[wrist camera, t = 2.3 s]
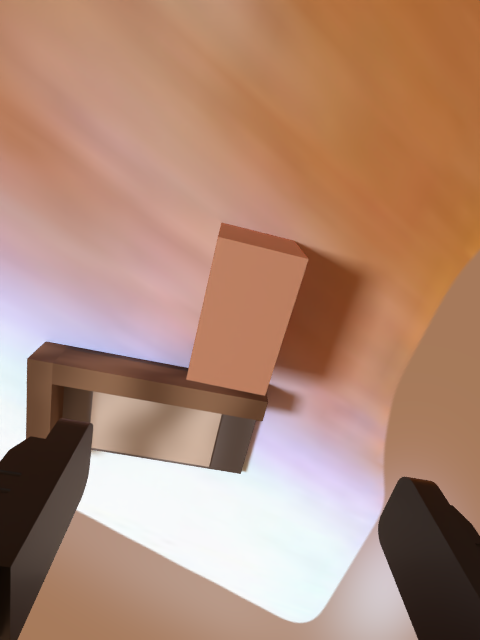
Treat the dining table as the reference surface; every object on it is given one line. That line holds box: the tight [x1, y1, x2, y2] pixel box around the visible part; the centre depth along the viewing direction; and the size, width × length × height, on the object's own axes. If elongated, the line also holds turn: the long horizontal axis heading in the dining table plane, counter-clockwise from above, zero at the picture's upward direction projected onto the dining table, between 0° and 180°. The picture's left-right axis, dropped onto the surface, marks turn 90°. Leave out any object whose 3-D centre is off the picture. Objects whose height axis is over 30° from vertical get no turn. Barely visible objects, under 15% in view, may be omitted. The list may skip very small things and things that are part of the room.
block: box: [186, 223, 309, 396], centre depth 22 cm, size 4×8×5 cm, turn 166°
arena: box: [26, 342, 268, 474], centre depth 26 cm, size 15×8×2 cm, turn 77°
